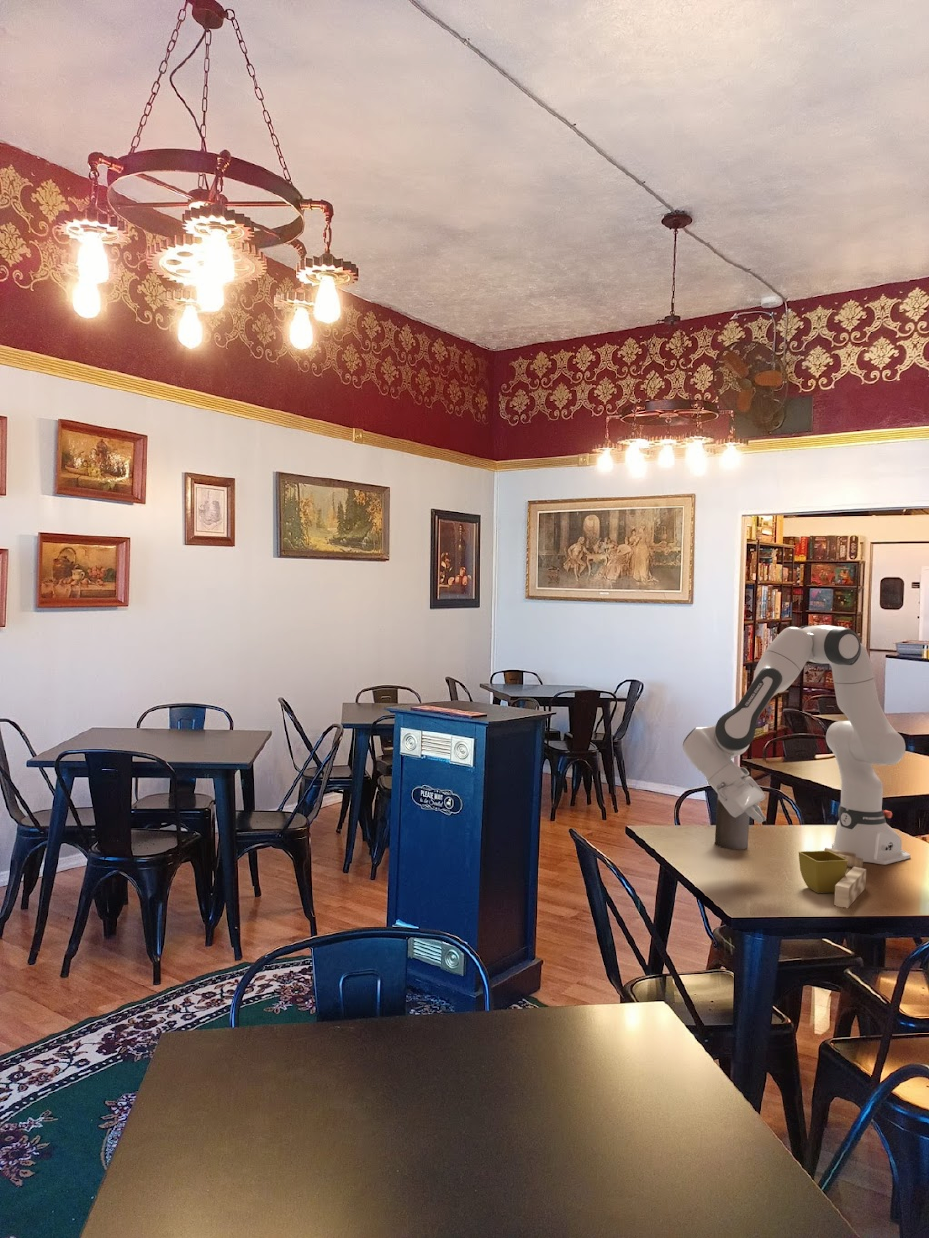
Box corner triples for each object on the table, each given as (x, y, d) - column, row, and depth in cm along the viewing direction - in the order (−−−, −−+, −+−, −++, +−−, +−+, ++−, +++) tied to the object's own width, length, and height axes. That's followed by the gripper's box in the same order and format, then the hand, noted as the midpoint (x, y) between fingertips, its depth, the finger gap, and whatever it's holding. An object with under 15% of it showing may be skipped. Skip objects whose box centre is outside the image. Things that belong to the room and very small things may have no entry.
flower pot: (815, 896, 222) (817, 861, 221) (795, 885, 230) (797, 850, 230) (846, 895, 223) (848, 860, 223) (826, 884, 232) (828, 850, 232)
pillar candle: (709, 844, 266) (711, 795, 265) (722, 838, 273) (725, 790, 272) (740, 852, 259) (743, 801, 259) (753, 845, 267) (756, 796, 266)
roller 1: (826, 852, 259) (824, 860, 257) (825, 845, 257) (823, 853, 255) (856, 857, 254) (853, 866, 252) (855, 851, 252) (852, 859, 250)
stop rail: (852, 885, 232) (853, 866, 231) (865, 888, 230) (866, 869, 230) (834, 905, 215) (835, 885, 215) (847, 908, 214) (848, 887, 213)
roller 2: (832, 862, 253) (830, 864, 251) (833, 851, 253) (830, 853, 251) (862, 868, 248) (860, 870, 246) (863, 857, 248) (861, 859, 246)
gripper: (722, 779, 232) (759, 822, 227) (747, 767, 249) (782, 807, 243) (705, 794, 235) (741, 837, 229) (731, 780, 251) (765, 820, 246)
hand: (762, 821), depth 236 cm, fingers closed
